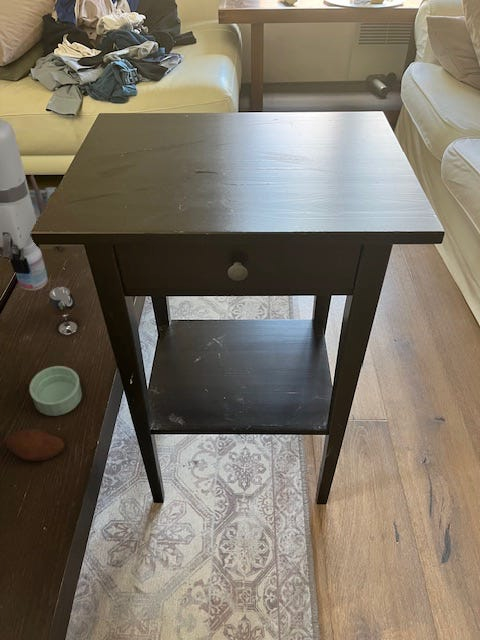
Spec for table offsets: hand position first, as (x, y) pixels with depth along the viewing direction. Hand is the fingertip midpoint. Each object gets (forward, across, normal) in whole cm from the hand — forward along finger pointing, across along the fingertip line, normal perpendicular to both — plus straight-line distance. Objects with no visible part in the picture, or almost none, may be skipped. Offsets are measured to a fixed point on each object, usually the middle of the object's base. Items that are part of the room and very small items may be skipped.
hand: (27, 261), depth 106 cm
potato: (+24, +32, +7) cm, 40 cm away
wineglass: (+24, -3, +4) cm, 24 cm away
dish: (+24, +18, +7) cm, 31 cm away
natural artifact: (+12, -41, -9) cm, 44 cm away
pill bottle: (+6, 0, 0) cm, 6 cm away
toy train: (+17, -42, -19) cm, 49 cm away
